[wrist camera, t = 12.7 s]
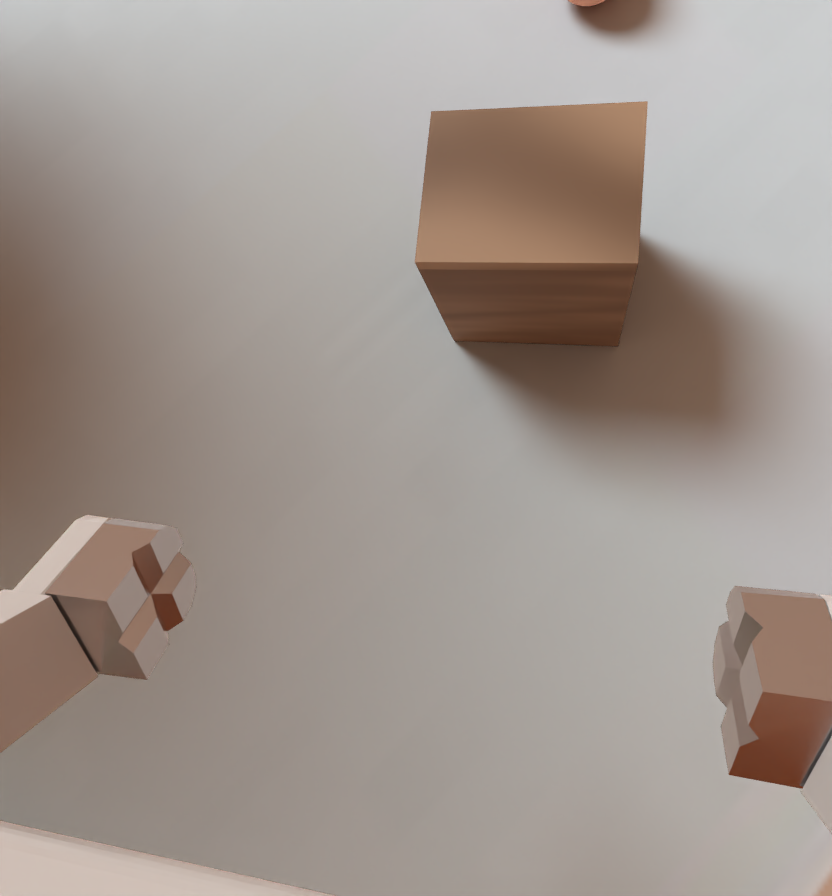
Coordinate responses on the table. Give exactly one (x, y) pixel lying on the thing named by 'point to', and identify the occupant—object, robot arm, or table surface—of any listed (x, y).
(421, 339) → the table surface
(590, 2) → the ball
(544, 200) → the wooden toy cube
